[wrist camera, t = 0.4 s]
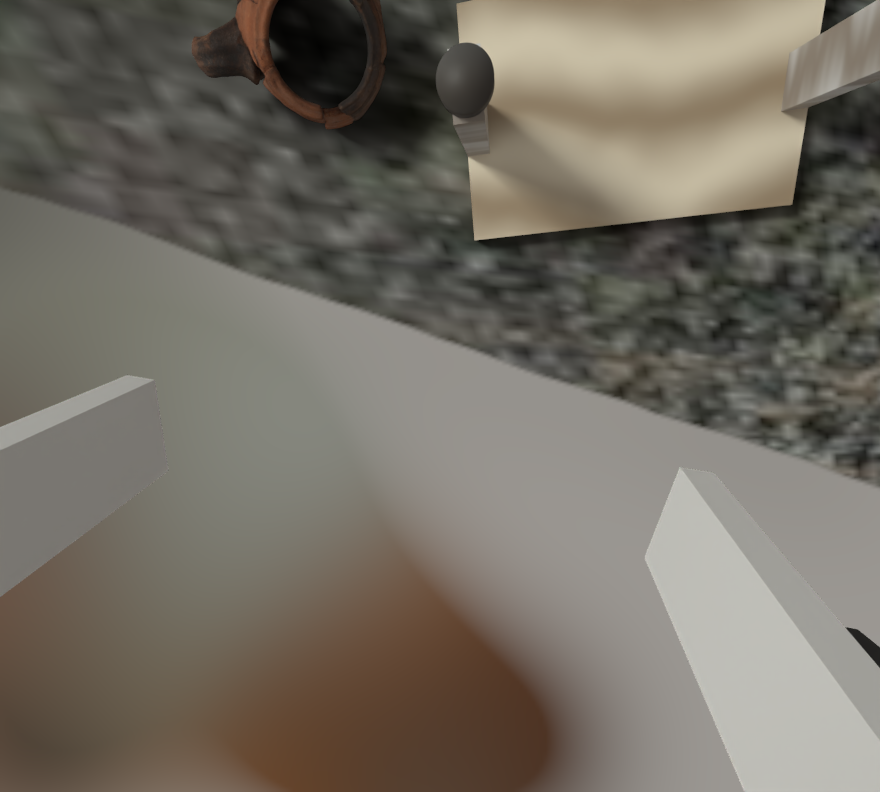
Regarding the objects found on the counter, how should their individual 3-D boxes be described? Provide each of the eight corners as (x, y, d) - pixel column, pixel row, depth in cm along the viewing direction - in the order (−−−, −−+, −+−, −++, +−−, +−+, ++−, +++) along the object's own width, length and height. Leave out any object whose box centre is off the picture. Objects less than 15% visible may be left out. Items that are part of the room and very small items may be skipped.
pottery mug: (347, -77, 28) (363, -96, 22) (393, 94, 34) (414, 115, 28) (169, -16, 27) (137, -18, 22) (250, 144, 34) (241, 176, 28)
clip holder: (449, 14, 28) (415, -129, 17) (833, -63, 25) (1115, -308, 13) (468, 240, 33) (451, 247, 22) (790, 204, 29) (969, 190, 18)
